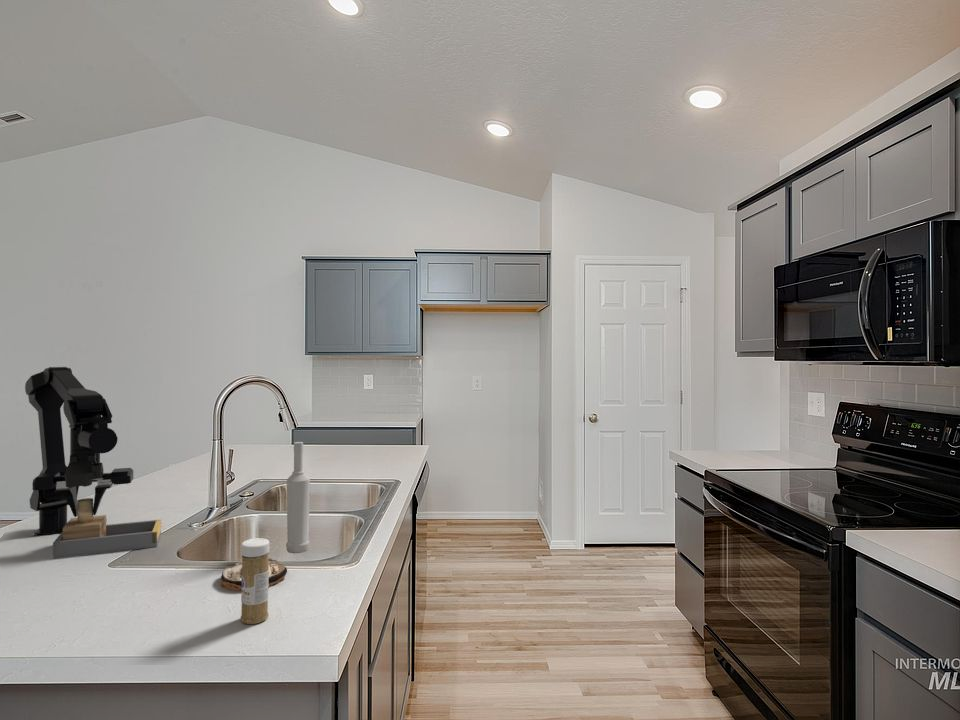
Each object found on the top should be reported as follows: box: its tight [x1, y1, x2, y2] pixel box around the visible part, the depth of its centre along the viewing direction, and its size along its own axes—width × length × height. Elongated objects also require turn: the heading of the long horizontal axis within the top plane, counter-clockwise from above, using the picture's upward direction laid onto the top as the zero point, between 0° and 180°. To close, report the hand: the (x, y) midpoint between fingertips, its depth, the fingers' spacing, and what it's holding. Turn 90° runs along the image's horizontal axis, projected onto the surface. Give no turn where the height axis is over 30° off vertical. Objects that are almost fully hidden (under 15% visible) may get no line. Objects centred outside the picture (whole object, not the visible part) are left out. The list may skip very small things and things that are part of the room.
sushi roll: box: [220, 557, 288, 591], centre depth 117 cm, size 15×15×4 cm
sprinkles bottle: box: [240, 537, 270, 625], centre depth 99 cm, size 5×5×14 cm
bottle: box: [285, 441, 311, 554], centre depth 134 cm, size 5×5×25 cm
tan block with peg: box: [61, 497, 107, 540], centre depth 134 cm, size 8×7×10 cm
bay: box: [52, 519, 162, 559], centre depth 136 cm, size 11×20×4 cm, turn 114°
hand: (85, 515), depth 134 cm, fingers open, 3 cm apart
